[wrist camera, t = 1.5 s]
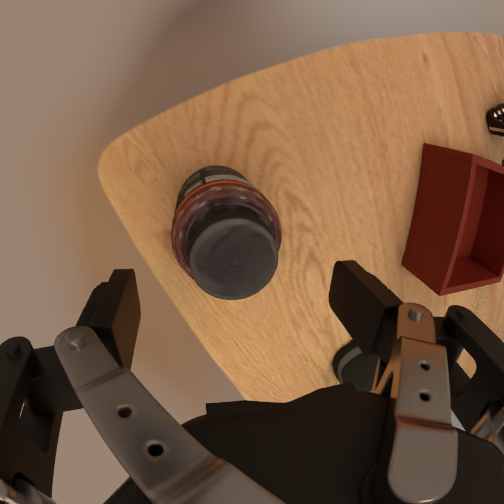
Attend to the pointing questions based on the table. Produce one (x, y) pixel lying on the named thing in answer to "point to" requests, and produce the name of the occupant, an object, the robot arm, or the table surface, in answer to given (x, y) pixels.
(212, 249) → the supplement bottle
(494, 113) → the battery charger
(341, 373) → the computer mouse
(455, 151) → the tote
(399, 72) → the table surface
